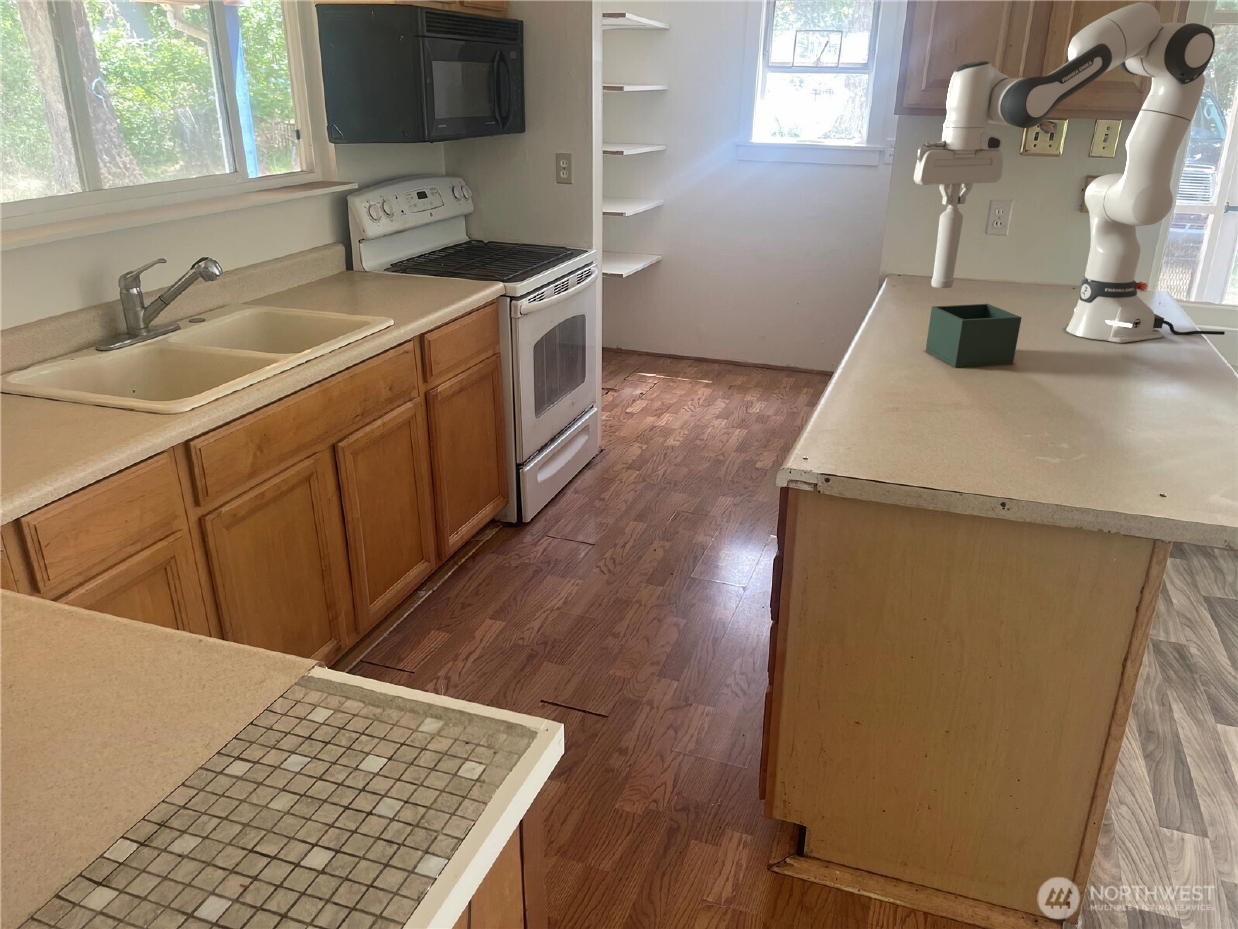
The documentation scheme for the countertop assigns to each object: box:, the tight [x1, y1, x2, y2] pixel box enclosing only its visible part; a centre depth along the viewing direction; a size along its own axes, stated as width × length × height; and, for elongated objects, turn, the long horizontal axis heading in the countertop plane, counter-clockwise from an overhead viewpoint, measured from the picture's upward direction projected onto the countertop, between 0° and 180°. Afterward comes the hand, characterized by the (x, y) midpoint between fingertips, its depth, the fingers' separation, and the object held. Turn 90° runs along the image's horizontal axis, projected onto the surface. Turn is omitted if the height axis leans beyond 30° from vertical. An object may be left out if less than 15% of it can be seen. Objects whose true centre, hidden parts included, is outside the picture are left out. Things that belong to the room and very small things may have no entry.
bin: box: [925, 303, 1022, 369], centre depth 203 cm, size 15×14×11 cm
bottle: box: [930, 184, 964, 289], centre depth 205 cm, size 5×5×25 cm
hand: (953, 204), depth 202 cm, fingers closed on bottle, 2 cm apart
